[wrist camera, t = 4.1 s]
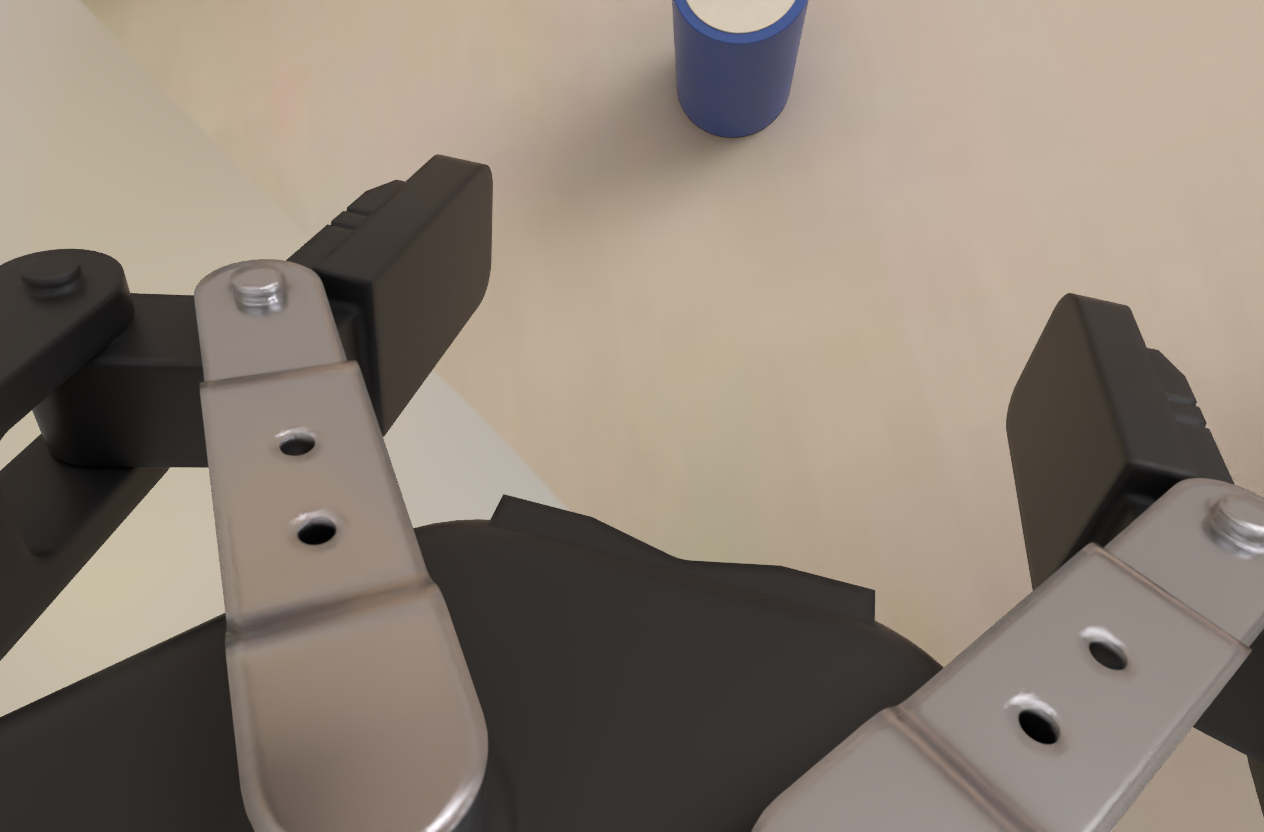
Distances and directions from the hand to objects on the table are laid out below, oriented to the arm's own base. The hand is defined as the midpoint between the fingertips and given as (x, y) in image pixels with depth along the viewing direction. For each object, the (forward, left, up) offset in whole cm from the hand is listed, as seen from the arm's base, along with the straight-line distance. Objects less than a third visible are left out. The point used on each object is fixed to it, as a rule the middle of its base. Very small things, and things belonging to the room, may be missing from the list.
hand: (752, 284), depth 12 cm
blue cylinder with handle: (-3, -19, -26) cm, 33 cm away
